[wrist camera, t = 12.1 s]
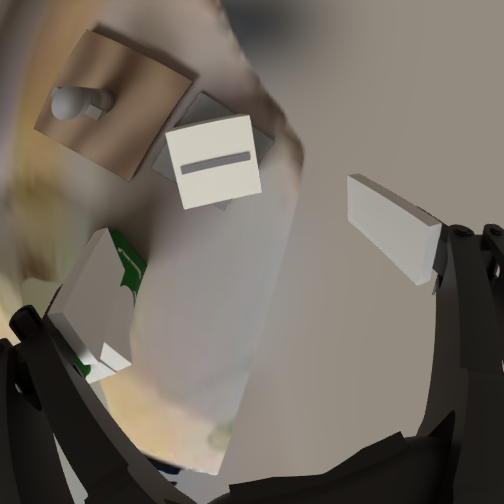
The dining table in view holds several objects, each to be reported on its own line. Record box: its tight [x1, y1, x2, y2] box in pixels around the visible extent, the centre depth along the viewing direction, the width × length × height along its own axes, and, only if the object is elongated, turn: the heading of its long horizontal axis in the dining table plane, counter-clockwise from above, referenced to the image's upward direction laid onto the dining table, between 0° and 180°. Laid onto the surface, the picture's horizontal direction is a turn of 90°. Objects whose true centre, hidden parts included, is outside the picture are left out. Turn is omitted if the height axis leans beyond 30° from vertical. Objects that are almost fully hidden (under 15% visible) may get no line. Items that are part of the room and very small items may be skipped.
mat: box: [151, 92, 274, 210], centre depth 32 cm, size 11×11×1 cm
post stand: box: [34, 30, 193, 182], centre depth 21 cm, size 16×14×12 cm
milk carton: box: [75, 230, 147, 384], centre depth 29 cm, size 9×9×20 cm
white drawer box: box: [165, 114, 262, 210], centre depth 29 cm, size 8×8×6 cm
